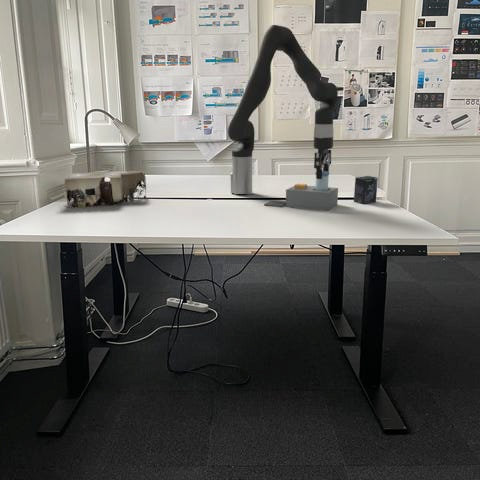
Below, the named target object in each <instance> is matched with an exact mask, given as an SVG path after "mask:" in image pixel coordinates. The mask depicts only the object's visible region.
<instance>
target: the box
mask: <svg viewBox="0 0 480 480" xmlns="http://www.w3.org/2000/svg"><path fill="white" fill-rule="evenodd" d="M378 180H379V178H378V177H376V176H370V175H365V176H355V181H354V193H353V194H354V195H353V202H354V203H357V204H362V205H365V204H370V203H376V202H377V193H378V192H377V191H378Z"/></svg>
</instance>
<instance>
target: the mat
mask: <svg viewBox="0 0 480 480" xmlns="http://www.w3.org/2000/svg"><path fill="white" fill-rule="evenodd" d="M263 206H264V207H265V206H266V207H275V208H283V207H286V201H279V200H270V201H267V202H265V203H263Z"/></svg>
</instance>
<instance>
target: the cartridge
mask: <svg viewBox="0 0 480 480" xmlns="http://www.w3.org/2000/svg"><path fill="white" fill-rule="evenodd" d="M314 173H315V176H316V171H315V172H314ZM329 176H330V171H329V172H327V171H323V170H322V179H316V178H315V186H316V188H315V190H317V191H328V187H329Z"/></svg>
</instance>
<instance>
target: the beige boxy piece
mask: <svg viewBox="0 0 480 480" xmlns="http://www.w3.org/2000/svg"><path fill="white" fill-rule="evenodd" d="M145 172H146V171H143V170H141V171H140V170H139V171H138V170H127V171H123V170H122V171H92V172H89V171H88V172H87V171H86V172H72V173H70V174H69V175H68V176H67V177H66V178H65V179H64V186H65V193H66V204H67V208H69V207H73V208H76V207H77V208H86V206H88V207H91V206H92V207H97V205H98V206H114V205H115V204H117V203H122V202H128V201H135V200H134V199H135V196H134V195H136V194H135V193H137V194H138V195H137V196H136V198H137V199H138V200H139V198H140V197H141V196H142V197H143V199H144V200H147V195H146V194H147V183H146V182H147V181H146V180H147V179H146V177H147V176H146V174H145ZM106 178H109V180H108V181H106ZM138 187H139V188H142V189H140V190H139V189H138ZM143 192H145V194H144V195H143ZM71 201H73V203H72V205H70V203H71ZM69 205H70V206H69Z"/></svg>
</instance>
